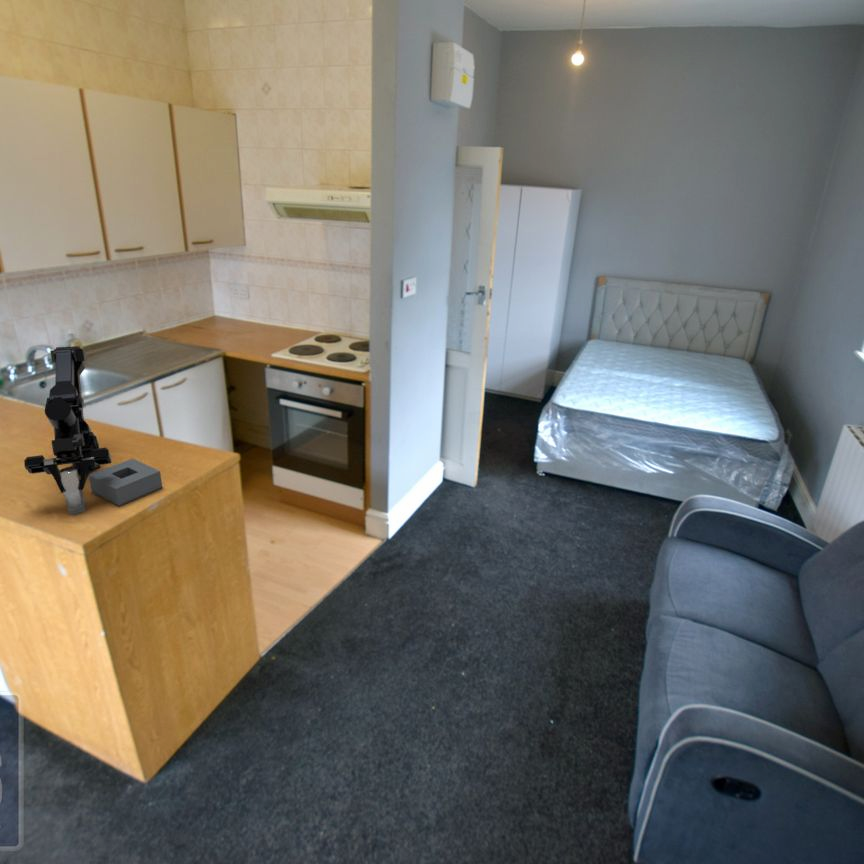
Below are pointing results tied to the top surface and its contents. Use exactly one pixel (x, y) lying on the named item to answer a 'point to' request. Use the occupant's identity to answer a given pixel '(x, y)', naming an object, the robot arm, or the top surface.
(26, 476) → the top surface
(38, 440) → the top surface
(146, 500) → the top surface
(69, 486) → the aluminium peg
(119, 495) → the slate socket block
